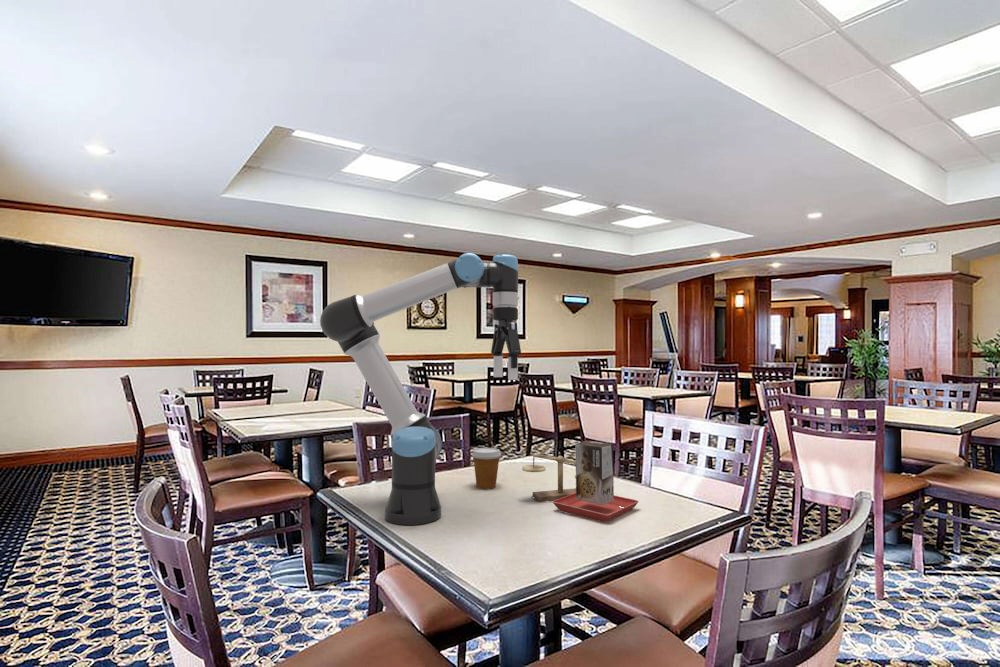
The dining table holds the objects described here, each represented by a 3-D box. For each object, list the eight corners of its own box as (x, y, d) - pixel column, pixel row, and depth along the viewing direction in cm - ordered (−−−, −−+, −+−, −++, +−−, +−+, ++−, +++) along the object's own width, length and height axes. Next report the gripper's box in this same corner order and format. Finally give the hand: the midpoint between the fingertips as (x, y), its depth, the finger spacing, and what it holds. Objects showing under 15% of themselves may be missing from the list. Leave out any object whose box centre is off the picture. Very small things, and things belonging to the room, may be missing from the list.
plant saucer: (639, 511, 156) (639, 499, 156) (608, 527, 142) (608, 514, 142) (585, 499, 168) (585, 488, 168) (551, 513, 154) (551, 501, 154)
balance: (527, 504, 161) (527, 456, 161) (518, 497, 167) (518, 452, 168) (601, 496, 169) (601, 452, 169) (590, 491, 175) (590, 448, 175)
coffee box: (614, 500, 155) (614, 443, 155) (602, 506, 150) (602, 447, 150) (587, 494, 161) (587, 439, 161) (574, 499, 156) (574, 442, 156)
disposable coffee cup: (498, 491, 175) (498, 453, 175) (468, 489, 176) (469, 452, 177) (502, 483, 184) (502, 447, 185) (475, 482, 186) (475, 447, 186)
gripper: (532, 304, 153) (532, 380, 152) (503, 310, 177) (503, 375, 176) (507, 303, 150) (507, 381, 150) (481, 309, 174) (481, 376, 174)
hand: (505, 378), depth 163 cm, fingers open, 13 cm apart
